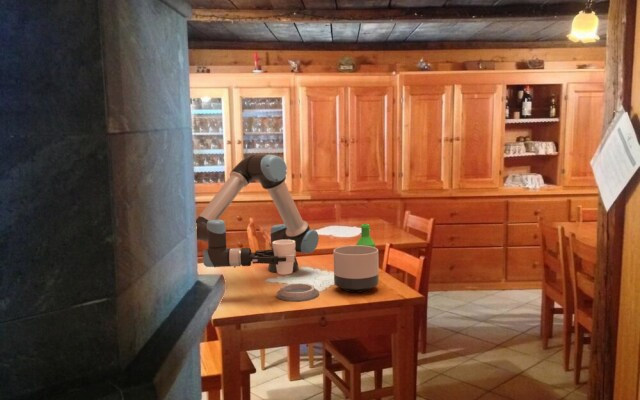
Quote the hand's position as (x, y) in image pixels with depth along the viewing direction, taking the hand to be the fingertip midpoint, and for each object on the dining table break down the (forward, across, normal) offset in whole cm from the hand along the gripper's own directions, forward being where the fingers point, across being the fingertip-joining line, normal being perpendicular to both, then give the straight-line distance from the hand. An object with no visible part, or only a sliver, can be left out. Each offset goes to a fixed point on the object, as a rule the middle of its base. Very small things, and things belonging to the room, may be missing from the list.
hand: (295, 255), depth 223 cm
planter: (+26, -9, -18) cm, 33 cm away
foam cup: (-5, 0, -7) cm, 9 cm away
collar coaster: (0, -3, -18) cm, 18 cm away
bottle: (+32, -31, -18) cm, 48 cm away
